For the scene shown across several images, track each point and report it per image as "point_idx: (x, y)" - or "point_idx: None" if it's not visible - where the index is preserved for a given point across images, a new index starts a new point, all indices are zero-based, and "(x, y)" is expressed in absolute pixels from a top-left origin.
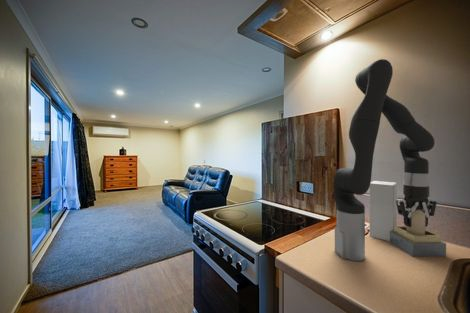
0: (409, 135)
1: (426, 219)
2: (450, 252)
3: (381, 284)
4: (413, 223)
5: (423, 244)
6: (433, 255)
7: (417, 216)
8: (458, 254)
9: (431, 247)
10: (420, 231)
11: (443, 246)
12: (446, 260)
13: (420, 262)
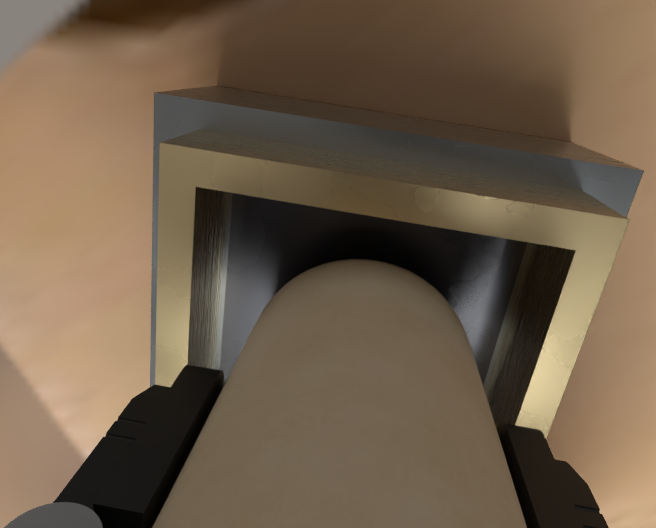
0: None
1: (136, 471)
2: (83, 152)
3: None
4: (500, 448)
5: (480, 142)
6: (346, 107)
7: None
8: (44, 106)
9: (367, 118)
10: (403, 297)
11: (206, 96)
12: (291, 19)
13: (625, 24)
